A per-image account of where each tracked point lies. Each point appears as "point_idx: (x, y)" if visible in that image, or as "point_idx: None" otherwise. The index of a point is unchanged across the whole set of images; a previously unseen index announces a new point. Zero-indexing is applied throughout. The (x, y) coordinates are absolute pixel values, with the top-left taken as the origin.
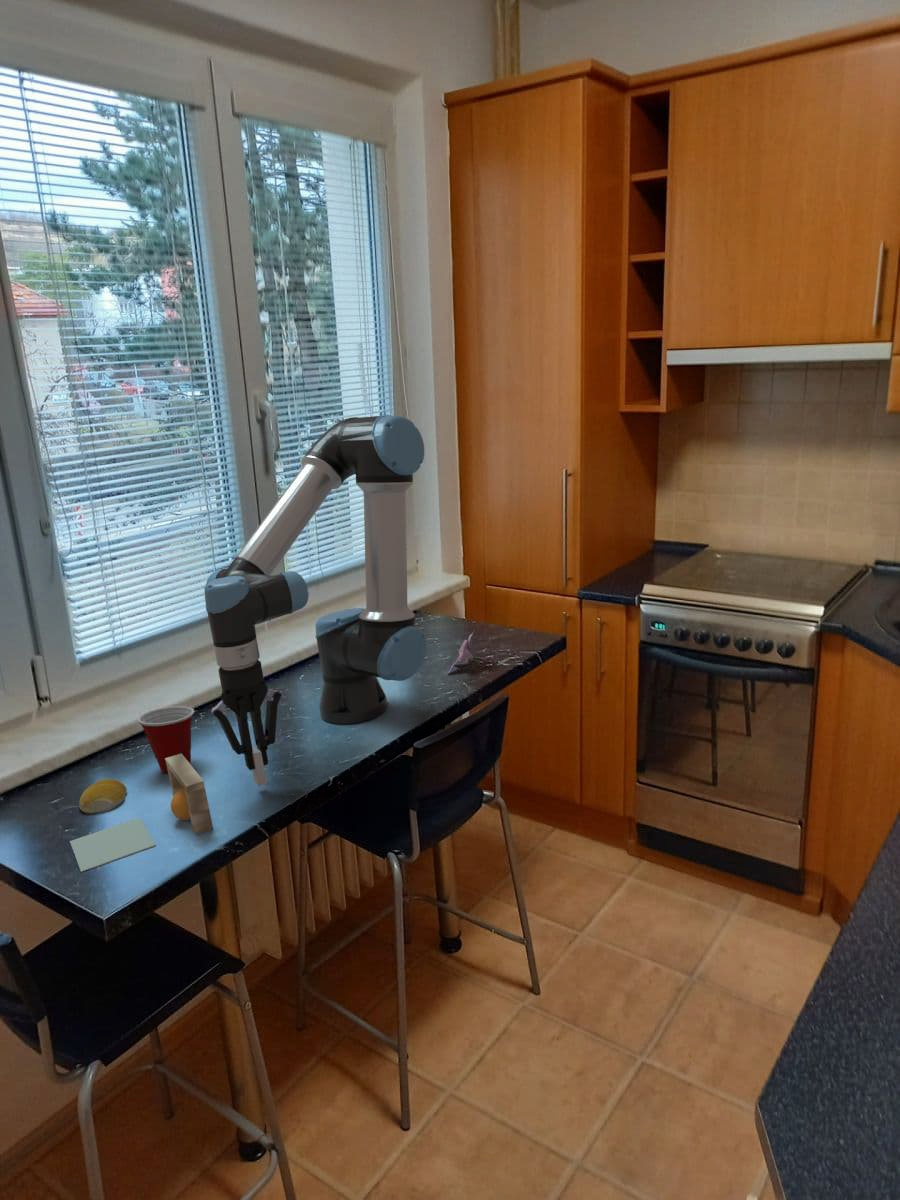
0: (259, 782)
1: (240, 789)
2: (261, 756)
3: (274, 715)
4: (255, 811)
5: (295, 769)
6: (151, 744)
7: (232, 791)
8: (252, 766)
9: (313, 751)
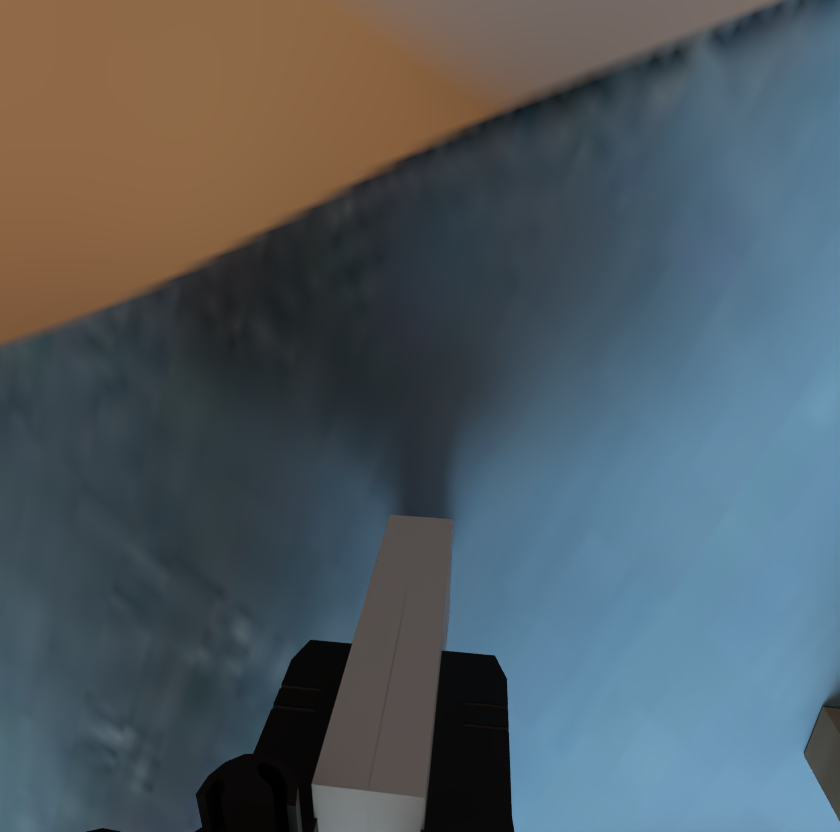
0: (443, 538)
1: (524, 643)
2: (335, 724)
3: None
4: (592, 287)
5: (160, 621)
6: None
7: (574, 655)
8: (462, 679)
9: (24, 719)
